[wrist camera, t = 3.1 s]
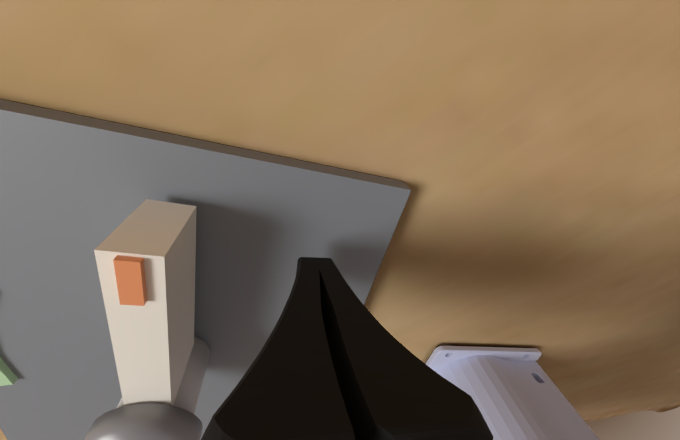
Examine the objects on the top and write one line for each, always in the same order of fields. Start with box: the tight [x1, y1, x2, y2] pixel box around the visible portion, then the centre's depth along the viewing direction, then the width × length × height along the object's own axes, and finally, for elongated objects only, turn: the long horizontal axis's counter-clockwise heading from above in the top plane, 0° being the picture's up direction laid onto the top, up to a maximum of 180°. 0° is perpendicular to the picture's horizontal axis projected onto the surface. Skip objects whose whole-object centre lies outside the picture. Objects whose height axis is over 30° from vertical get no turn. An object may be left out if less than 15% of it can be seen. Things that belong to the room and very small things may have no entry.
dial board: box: [0, 99, 411, 440], centre depth 15 cm, size 18×22×1 cm
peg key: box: [84, 199, 210, 440], centre depth 11 cm, size 11×4×4 cm, turn 165°
